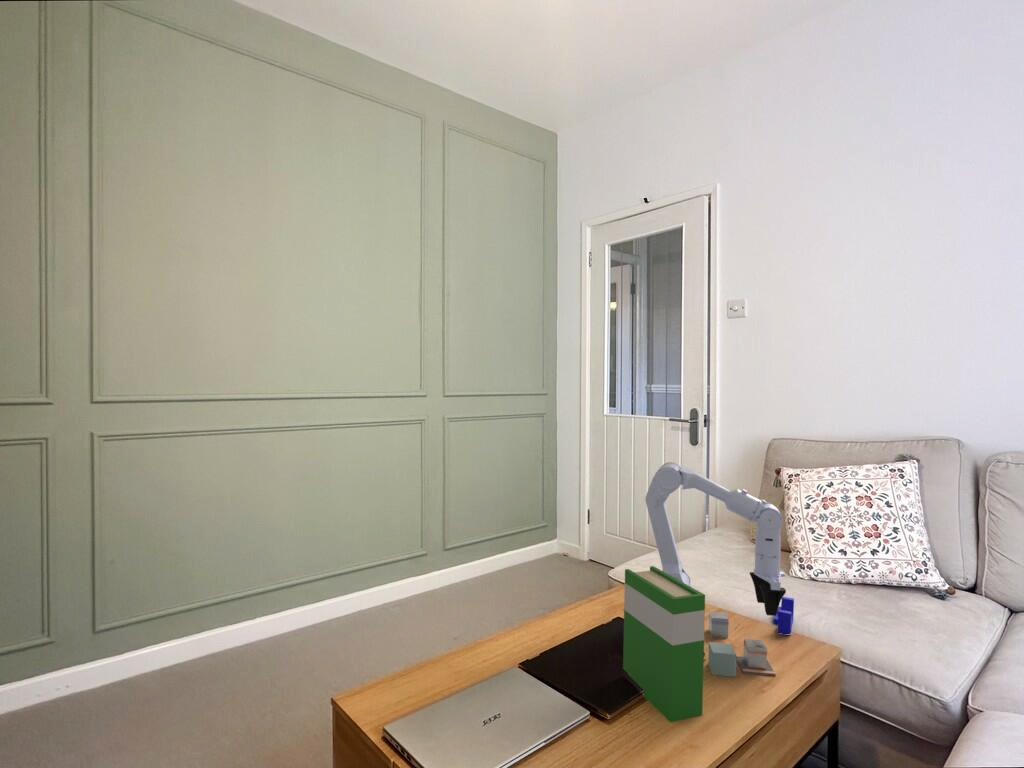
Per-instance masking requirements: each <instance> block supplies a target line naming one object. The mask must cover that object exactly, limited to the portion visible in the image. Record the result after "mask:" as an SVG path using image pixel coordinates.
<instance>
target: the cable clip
mask: <svg viewBox="0 0 1024 768" xmlns="http://www.w3.org/2000/svg"><path fill="white" fill-rule="evenodd" d="M780 605H781V606H780ZM780 605H779V607H778V610H777V613H776V616H773V624H774V625H777V634H778V633H782V634H781V635H783V634H790V633H792V630H793V629H792V628H793V623H794V615H795V614H794V610H795V609H794V608H795V598H792V597H789V596H788V597H787V596H783V597H782V599H781V602H780Z"/></svg>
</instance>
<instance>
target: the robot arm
mask: <svg viewBox="0 0 1024 768" xmlns="http://www.w3.org/2000/svg"><path fill="white" fill-rule="evenodd" d="M681 485H682V488H681V489H682V490H690V489H696V490H698V491H701V492H702V493H704V494H706V495H709V496H711V497H713V498H716V499H717V500H720V501H721V502H724V505H725V507H726V509H727V510H728V511H730V512H731V513H735V514H736V515H738V516H740V517H741V518H744V519H745V520H747V521H750V522H756V533H755V542H754V543H755V549H754V569H753V571H751V572H749V575H750V578H751V580H752V583H753V586H754V587H753V588H754V591H755V597H756V598H755V599H756V601H757V603H758V604H764V611H765V615H766V616H770V617H771V616H773V617H774V616H776V613H777V610H778V607H779V606H780V604H781V602H782V597H785V594H786V593H787V589H785V587H781V585H782V584H781V583H782V582H781V578H785V577H786V573H785V572H784V571H781V552H782V551H781V547H782V546H781V545H782V538H781V532H782V531H781V529H782V527H783V525H784V520H783V517H782V515H781V512H780V510H779V509H778V508H777V507H776V506H775V505H773V504H772V503H771V502H767V500H764V499H759V498H756V497H755V496H752V495H751V494H748V490H746V489H744V488H742V489H739V488H735V489H732V490H729V489H728V488H726V487H724V486H722V485H720V484H718V483H716V482H715V481H713V480H711V479H709V478H708V477H705V476H704V475H702V474H700V473H699V472H697V471H694V470H693V469H690V468H688V467H686V466H684V465H683V466H681V465H679V464H678V463H676V462H672V461H671V462H670V461H669V462H668V461H667V462H666V463H664V464H662V465H661V466H660V467H659V469H658V470H656V472H655V474H654V476H653V477H652V479H651V482H650V484H649V487H648V490H647V492H646V495H645V498H644V500H645V504H646V508H647V511H648V516H649V520H650V524H651V528H652V532H653V536H654V539H655V543H656V547H657V550H658V554H659V555H658V556H659V558H660V563H661V567H662V571H663V572H665V573H667V574H669V575H670V576H672V577H674V578H676V579H678V580H679V581H681V582H683V583H685V584H687V585H688V586H690V587H691V579H690V578H691V577H690V576H689V574H688V573H687V571H685V569H684V565H683V563H682V561H681V559H680V555H679V551H678V548H677V544H676V543H677V542H676V540H675V537H674V533H673V528H672V524H671V521H670V517H669V513H668V509H667V505H666V501H667V499H668V498H669V496H670V495H671V494H672V493H674V492H675V491H676V490H678V489H679V488H680V486H681Z"/></svg>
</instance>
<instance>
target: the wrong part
mask: <svg viewBox="0 0 1024 768" xmlns="http://www.w3.org/2000/svg"><path fill="white" fill-rule="evenodd" d="M708 613H709V614H708V630H709V631H708V632H709V633H710V636H711V637H712V638H719V637H723V638H722V639H729V624H730V623H729V617H728V616H727V613H726V612H723V611H722V612H721V611H708Z"/></svg>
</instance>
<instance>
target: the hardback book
mask: <svg viewBox="0 0 1024 768" xmlns="http://www.w3.org/2000/svg"><path fill="white" fill-rule="evenodd" d="M623 599H624V600H623V601H624V602H623V603H624V605H623V609H624V610H623V648H622V649H623V650H622V651H623V653H622V655H623V657H622V659H623V660H622V670H623V669H624V670H625V671H626V672H627V673H628V675H629V676H630V677H631V678H632V679H633V680H634V681H635V682H636V683H637V684H638V685H639V686H640V687H641V688H642V689H643V690H644V696H643V698H645V699H646V701H647V702H649V704H651V705H652V706H653V707H654V708H655V709H656V710H657V711H658V712H659V713H660V714H662V716H663V717H665V718H666V720H667V721H669V722H670V723H675V722H679V721H683V720H688V719H692V718H696V717H700V716H703V703H704V701H703V700H704V699H703V697H704V696H703V695H704V660H705V657H704V656H705V652H704V651H705V623H706V622H705V619H706V617H705V615H706V614H705V613H706V594H704V593H702V592H701V591H699V590H697V589H695V588H694V587H692V586H691V585H690V586H688V585H687V584H685V583H683V582H681V581H679V580H678V579H676V578H674V577H672V576H670V575H669V574H667V573H665V572H663V570H661V569H659V568H657V567H656V566H653V565H651V566H649V570H643V571H635V572H634V571H632V570H631V569H629V568H625V569H624V598H623Z"/></svg>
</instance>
